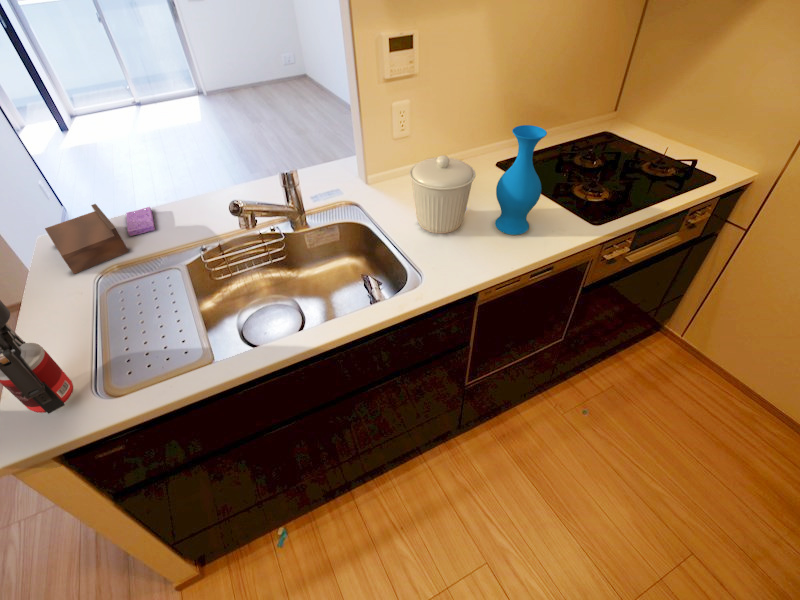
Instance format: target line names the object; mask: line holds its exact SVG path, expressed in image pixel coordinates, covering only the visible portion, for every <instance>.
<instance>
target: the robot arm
mask: <svg viewBox="0 0 800 600" xmlns="http://www.w3.org/2000/svg"><path fill="white" fill-rule="evenodd" d="M10 319H11V311H10V310H9V308H8V307H7V306H6V305H5V303H4V302H3V301H2V299H0V370H1V371H2V372H3V373H4V374H5V375H6V376H7V377H8V378H9V380H10V381H11V382H12V383H13V384H14V385H15V386H16V387H17V388H18V389H19V390H20V391H21V392H22V394H21V397H23V398H24V397H25V398H27V399H30V398H32V399H33V400H34V401H36V402H37V403H38V404H39V405H40V406H41V407H42V408H43V409H44V410H45V411H46V412H45V413H46V414H48V415H49V414H51V413H53V412H55V411H56V410H58V409H60V408H62V407H65V405H66V404H65V403H64V402H63V401H62V400H61V399H60V398H59V397H58V396H57V395H56V394H55V393H54V392H53V391H52V390H51V389H50V388H49V387H48V385H47V384H46V383H45V382H41V381H40V379H39V378H38V377H37V375H36V374H35V373H34V372H33V371H32V369H31V368H30V367H29V365H28V364H27V363H26V362H25V360H24V359H23V358H22V356H21V349H20V348H19V347H20V346H21V344H24V343H27V342H26V341H24V340H23V339H22V338H21V337H20V336H19V335H18V334H17V333H16V332H15V331H14V329H12V327H10V325H8V324H7V323H8V322H9V320H10ZM13 349H14V350H15V351H14V352H12V350H13Z"/></svg>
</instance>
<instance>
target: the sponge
mask: <svg viewBox="0 0 800 600" xmlns="http://www.w3.org/2000/svg"><path fill="white" fill-rule="evenodd" d="M144 209H146V210H144ZM134 212H135V213H134ZM126 214H127V215H126ZM125 215H126V229H127V233H128V235H129V237H131V236H136V235H140V234H145V233H148V232H153V231H155V230H156V228H155V221H154V216H153V211H152V208H151V206H147V207H143V208H140V209H137V210H132V211H128V212H125Z"/></svg>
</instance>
